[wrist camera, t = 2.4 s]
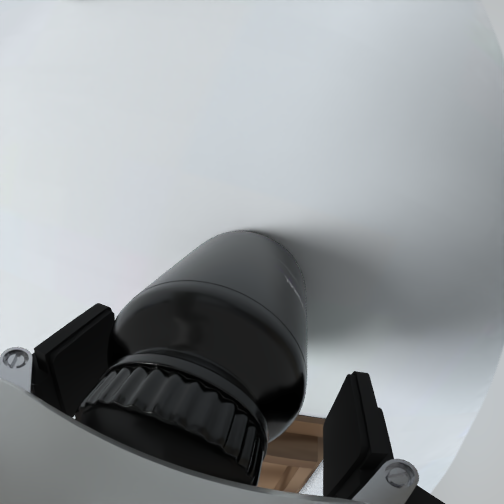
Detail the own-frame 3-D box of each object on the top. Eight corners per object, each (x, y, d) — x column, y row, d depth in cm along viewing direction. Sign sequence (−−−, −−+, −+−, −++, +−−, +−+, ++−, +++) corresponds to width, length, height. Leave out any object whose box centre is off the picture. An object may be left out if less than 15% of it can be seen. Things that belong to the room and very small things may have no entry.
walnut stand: (156, 378, 20) (139, 405, 17) (343, 421, 19) (346, 452, 16) (160, 467, 24) (150, 488, 21) (291, 497, 23) (289, 520, 20)
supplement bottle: (331, 279, 16) (373, 479, 4) (256, 357, 18) (210, 536, 7) (229, 200, 16) (68, 292, 4) (166, 292, 18) (35, 432, 6)
